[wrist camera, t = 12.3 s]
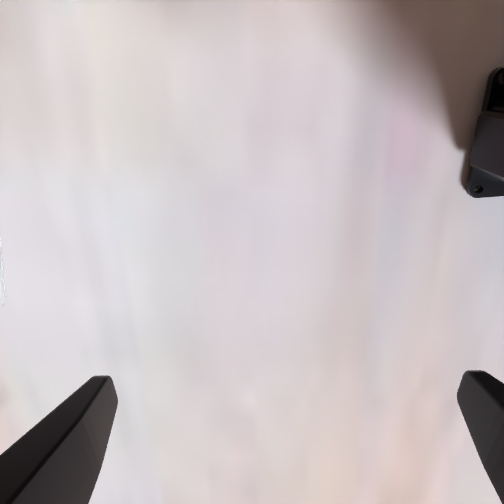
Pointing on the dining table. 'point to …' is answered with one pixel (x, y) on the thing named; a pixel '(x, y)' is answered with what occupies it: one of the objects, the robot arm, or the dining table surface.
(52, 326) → the dining table surface
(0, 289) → the small box
